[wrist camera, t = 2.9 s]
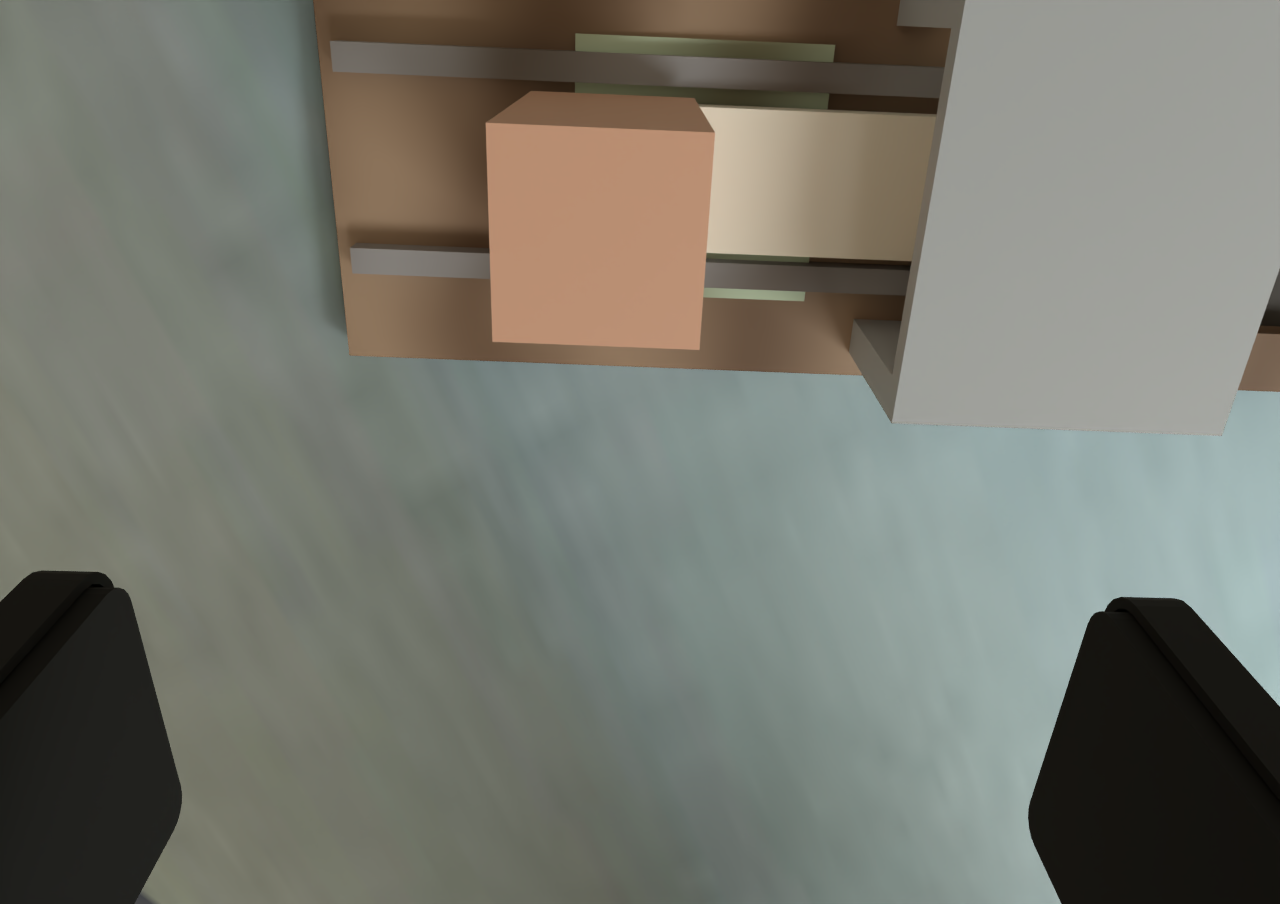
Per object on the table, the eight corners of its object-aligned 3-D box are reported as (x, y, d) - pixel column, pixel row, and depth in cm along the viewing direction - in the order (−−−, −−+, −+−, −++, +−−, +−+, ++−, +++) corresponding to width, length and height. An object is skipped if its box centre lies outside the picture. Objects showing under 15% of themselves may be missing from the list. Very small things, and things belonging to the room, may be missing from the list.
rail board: (1543, -20, 23) (1603, -22, 22) (1375, 384, 28) (1415, 404, 27) (318, -76, 23) (296, -82, 21) (359, 344, 28) (343, 362, 26)
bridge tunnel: (1226, -5, 23) (1375, -10, 18) (1122, 363, 27) (1221, 435, 22) (902, -20, 22) (970, -28, 18) (848, 352, 27) (891, 423, 22)
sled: (1282, 108, 23) (1568, 151, 16) (1224, 285, 25) (1457, 394, 18) (534, 75, 23) (485, 104, 16) (535, 257, 25) (492, 356, 18)
